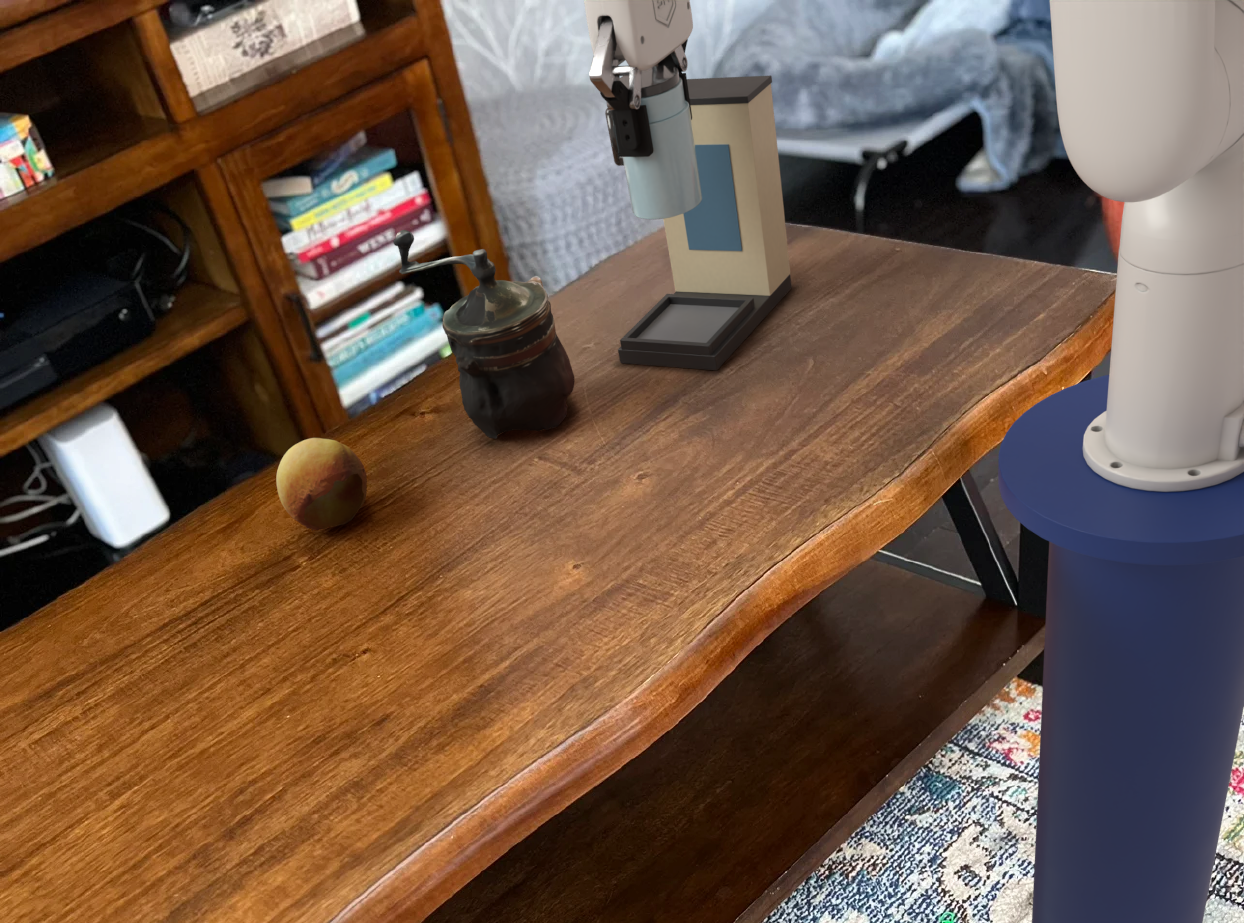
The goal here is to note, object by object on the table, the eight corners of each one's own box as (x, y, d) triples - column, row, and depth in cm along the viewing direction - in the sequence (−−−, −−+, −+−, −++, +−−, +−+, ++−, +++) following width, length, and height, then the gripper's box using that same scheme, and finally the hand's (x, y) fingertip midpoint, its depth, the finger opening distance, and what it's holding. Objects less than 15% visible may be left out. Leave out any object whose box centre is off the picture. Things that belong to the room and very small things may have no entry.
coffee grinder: (470, 389, 132) (417, 209, 119) (602, 389, 126) (560, 200, 114) (415, 456, 124) (351, 271, 111) (552, 459, 118) (502, 264, 106)
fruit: (395, 502, 119) (366, 423, 113) (342, 553, 114) (309, 474, 108) (333, 493, 122) (302, 416, 116) (279, 543, 118) (244, 465, 112)
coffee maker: (718, 371, 124) (684, 151, 110) (619, 363, 129) (575, 152, 115) (793, 287, 134) (771, 75, 120) (698, 283, 139) (667, 79, 125)
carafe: (682, 220, 116) (661, 90, 108) (606, 219, 120) (581, 93, 112) (714, 190, 120) (696, 61, 112) (639, 189, 123) (617, 65, 116)
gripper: (604, -70, 96) (647, 179, 109) (708, -135, 106) (736, 101, 118) (522, -61, 100) (573, 179, 112) (630, -125, 109) (665, 103, 122)
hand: (656, 137), depth 115 cm, fingers closed on carafe, 6 cm apart
